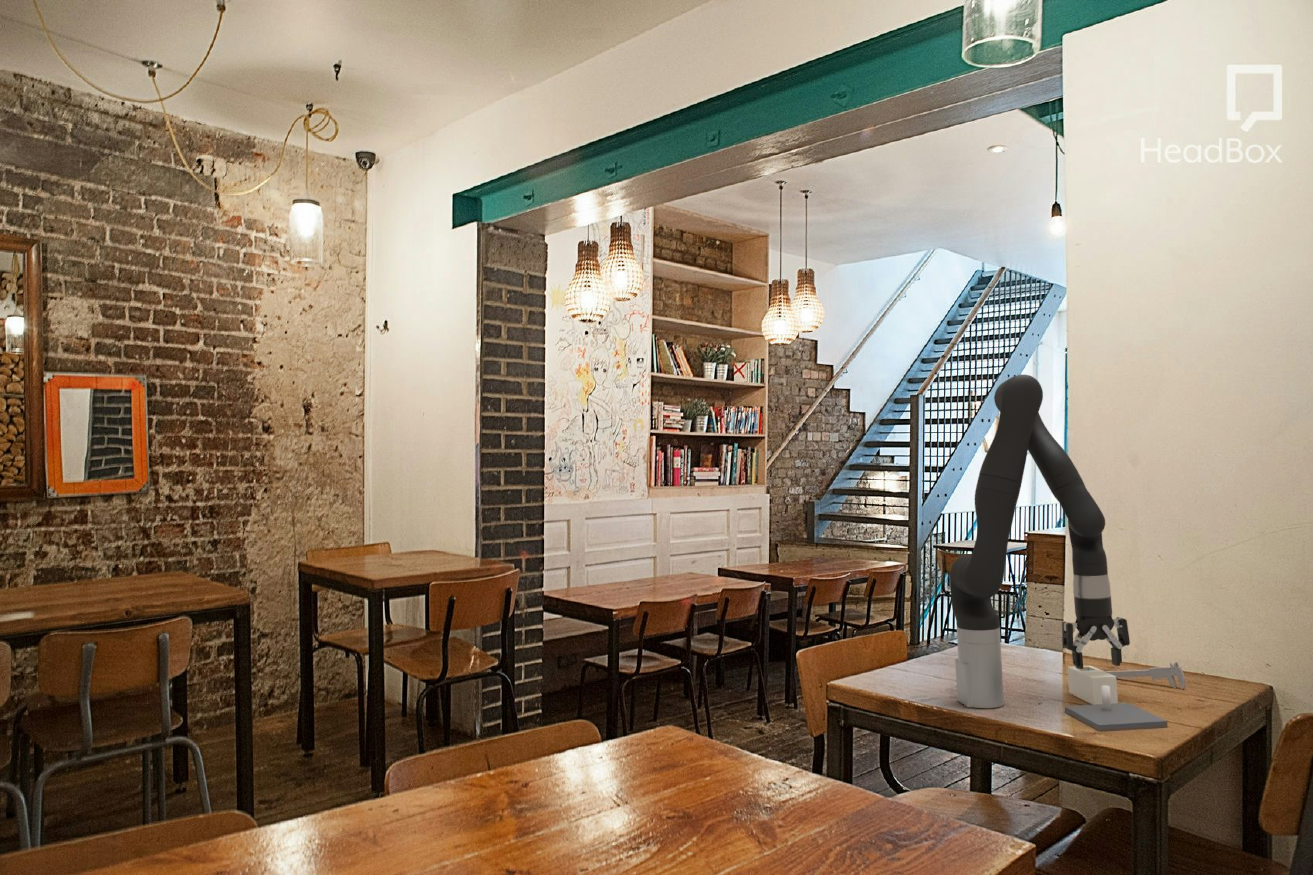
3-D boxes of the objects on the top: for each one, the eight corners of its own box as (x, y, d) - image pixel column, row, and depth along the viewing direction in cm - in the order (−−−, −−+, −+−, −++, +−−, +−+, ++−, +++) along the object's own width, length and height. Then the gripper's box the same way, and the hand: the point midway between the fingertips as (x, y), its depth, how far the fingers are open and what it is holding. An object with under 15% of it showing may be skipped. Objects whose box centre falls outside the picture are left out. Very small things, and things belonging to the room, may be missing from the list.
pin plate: (1099, 731, 181) (1097, 699, 181) (1064, 711, 195) (1063, 682, 195) (1167, 726, 182) (1165, 695, 182) (1128, 708, 196) (1126, 679, 196)
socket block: (1093, 705, 199) (1092, 677, 199) (1069, 692, 210) (1067, 666, 210) (1117, 703, 199) (1116, 676, 199) (1091, 691, 210) (1090, 665, 210)
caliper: (1185, 690, 209) (1183, 662, 209) (1183, 690, 208) (1182, 663, 208) (1096, 676, 224) (1094, 650, 225) (1094, 677, 224) (1092, 651, 224)
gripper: (1070, 599, 199) (1075, 673, 198) (1132, 594, 200) (1138, 667, 199) (1053, 594, 206) (1058, 665, 206) (1113, 589, 207) (1119, 660, 207)
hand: (1097, 666), depth 203 cm, fingers open, 8 cm apart
